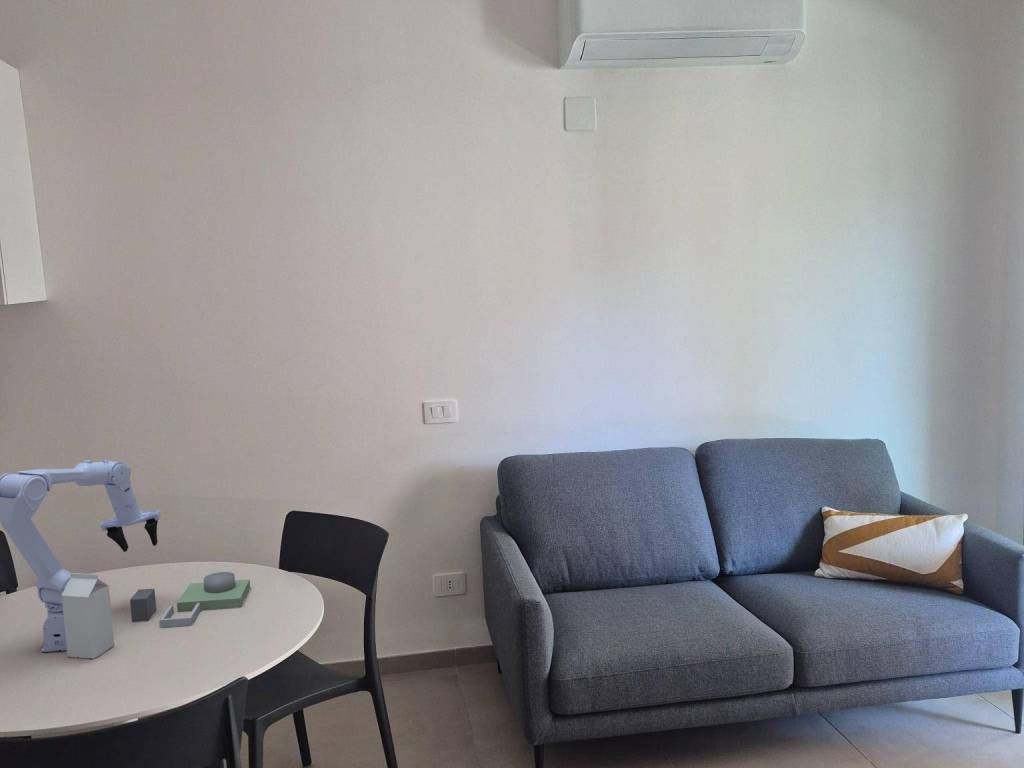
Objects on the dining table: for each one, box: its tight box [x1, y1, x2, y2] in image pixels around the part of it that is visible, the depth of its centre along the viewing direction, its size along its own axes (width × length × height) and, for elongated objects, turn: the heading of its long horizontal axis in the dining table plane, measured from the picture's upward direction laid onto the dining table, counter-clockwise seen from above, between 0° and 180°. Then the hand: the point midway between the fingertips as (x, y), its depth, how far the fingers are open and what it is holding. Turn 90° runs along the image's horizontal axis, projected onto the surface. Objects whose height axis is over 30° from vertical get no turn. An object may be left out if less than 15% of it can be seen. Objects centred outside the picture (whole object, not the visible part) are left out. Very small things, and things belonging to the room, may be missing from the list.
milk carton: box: [61, 572, 115, 660], centre depth 197 cm, size 7×7×19 cm
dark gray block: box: [129, 588, 157, 623], centre depth 218 cm, size 7×4×6 cm, turn 7°
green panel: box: [158, 571, 251, 629], centre depth 223 cm, size 24×18×6 cm
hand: (140, 546), depth 224 cm, fingers open, 7 cm apart
